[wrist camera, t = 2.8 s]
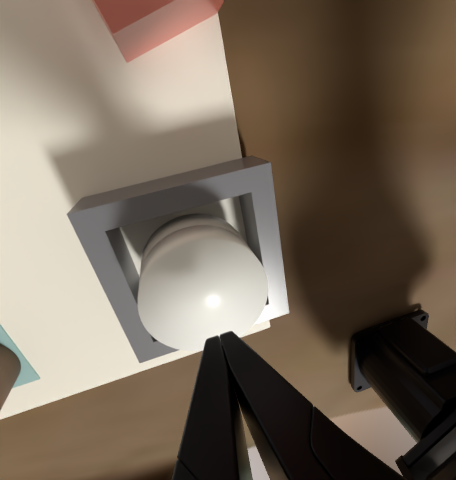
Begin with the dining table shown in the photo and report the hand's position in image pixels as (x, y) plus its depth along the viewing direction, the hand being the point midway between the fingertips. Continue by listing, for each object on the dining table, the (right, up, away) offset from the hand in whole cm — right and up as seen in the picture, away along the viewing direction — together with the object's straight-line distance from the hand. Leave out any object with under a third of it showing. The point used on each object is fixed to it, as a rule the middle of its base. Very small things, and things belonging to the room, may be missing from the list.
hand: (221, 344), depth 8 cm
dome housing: (-2, +3, +6) cm, 7 cm away
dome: (-1, +2, +5) cm, 5 cm away
